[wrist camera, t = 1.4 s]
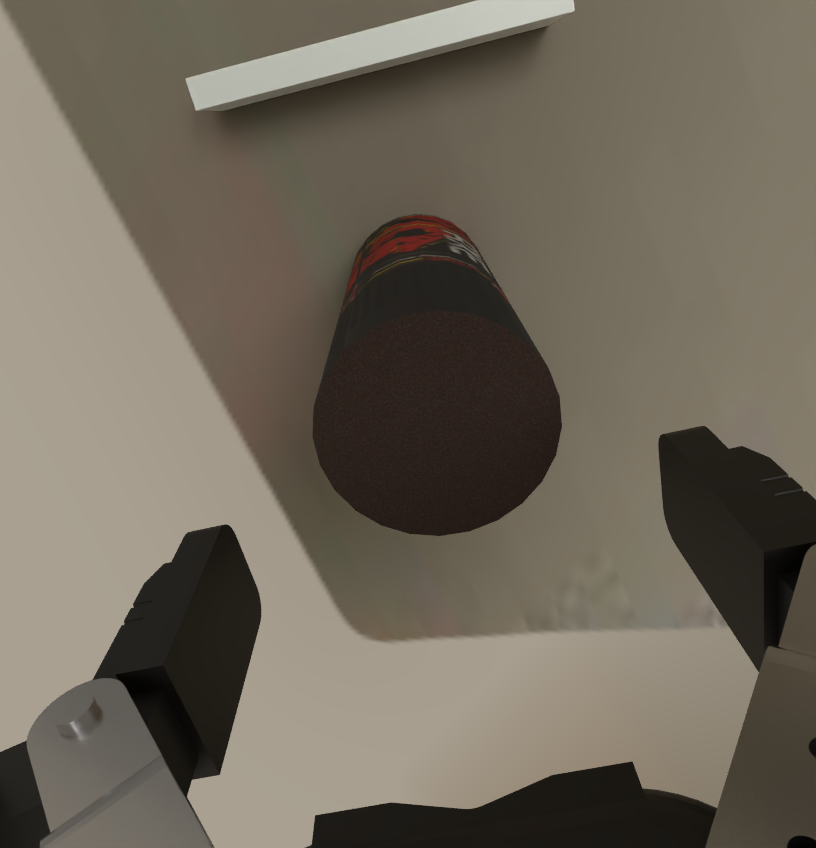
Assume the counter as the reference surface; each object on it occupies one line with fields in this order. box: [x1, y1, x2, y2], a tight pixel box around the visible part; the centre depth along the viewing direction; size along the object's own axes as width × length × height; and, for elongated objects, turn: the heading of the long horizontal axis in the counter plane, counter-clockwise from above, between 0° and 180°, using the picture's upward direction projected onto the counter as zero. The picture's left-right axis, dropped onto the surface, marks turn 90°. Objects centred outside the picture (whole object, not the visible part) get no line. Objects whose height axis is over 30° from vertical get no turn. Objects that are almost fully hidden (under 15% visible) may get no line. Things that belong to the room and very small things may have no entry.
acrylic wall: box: [185, 0, 575, 111], centre depth 24 cm, size 1×13×4 cm, turn 103°
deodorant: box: [313, 214, 562, 536], centre depth 23 cm, size 6×6×15 cm
